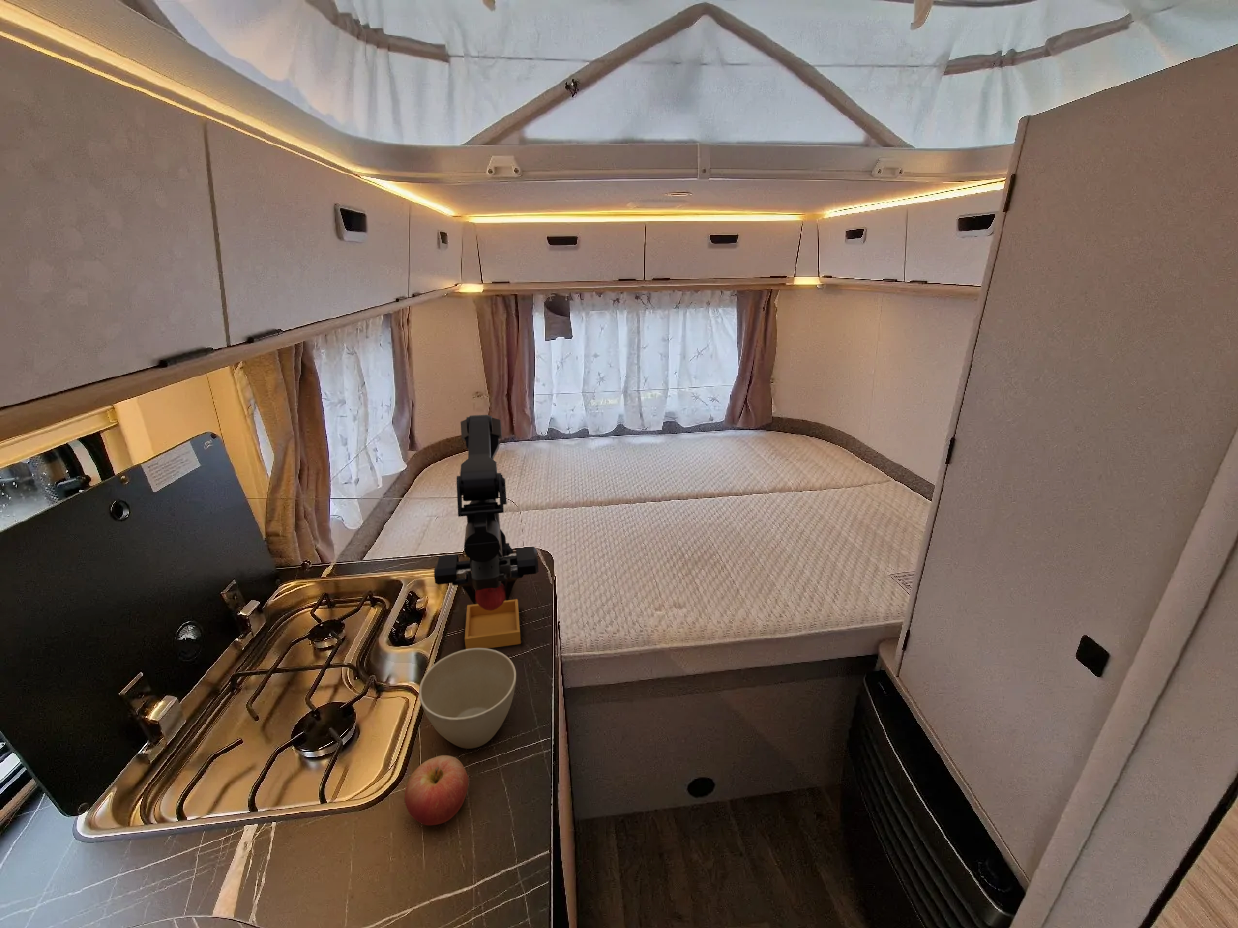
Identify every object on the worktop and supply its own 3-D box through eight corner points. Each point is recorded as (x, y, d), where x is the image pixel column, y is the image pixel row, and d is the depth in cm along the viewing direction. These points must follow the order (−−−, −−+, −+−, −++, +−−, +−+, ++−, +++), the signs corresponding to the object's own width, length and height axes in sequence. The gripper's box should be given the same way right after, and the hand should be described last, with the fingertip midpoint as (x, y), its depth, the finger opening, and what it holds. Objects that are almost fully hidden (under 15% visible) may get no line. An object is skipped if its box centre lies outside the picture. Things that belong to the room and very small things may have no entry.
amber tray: (468, 616, 107) (467, 605, 106) (518, 610, 109) (517, 598, 108) (466, 651, 98) (464, 638, 97) (520, 643, 100) (519, 631, 99)
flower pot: (528, 750, 79) (525, 700, 75) (430, 783, 73) (421, 732, 70) (509, 683, 91) (506, 637, 87) (424, 708, 86) (416, 660, 82)
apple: (483, 796, 72) (478, 756, 69) (440, 850, 65) (432, 808, 62) (442, 770, 75) (435, 730, 72) (396, 818, 69) (387, 777, 66)
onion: (510, 601, 104) (508, 568, 101) (501, 620, 99) (498, 585, 96) (482, 599, 105) (479, 565, 101) (472, 617, 99) (468, 583, 96)
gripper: (425, 561, 86) (437, 635, 92) (539, 549, 90) (542, 621, 96) (432, 528, 96) (442, 597, 102) (534, 519, 100) (537, 586, 106)
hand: (491, 601), depth 101 cm, fingers closed on onion, 6 cm apart
